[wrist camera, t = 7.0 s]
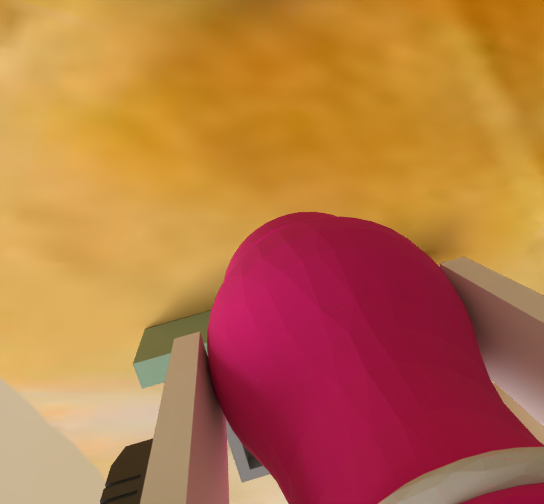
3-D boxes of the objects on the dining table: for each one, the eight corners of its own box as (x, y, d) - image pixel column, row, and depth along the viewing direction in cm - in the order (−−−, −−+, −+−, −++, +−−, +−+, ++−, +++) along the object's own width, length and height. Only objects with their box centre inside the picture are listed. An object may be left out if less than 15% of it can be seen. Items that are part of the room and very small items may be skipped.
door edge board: (398, 256, 39) (431, 277, 33) (402, 278, 39) (435, 302, 34) (144, 329, 38) (132, 364, 32) (152, 350, 38) (142, 388, 32)
